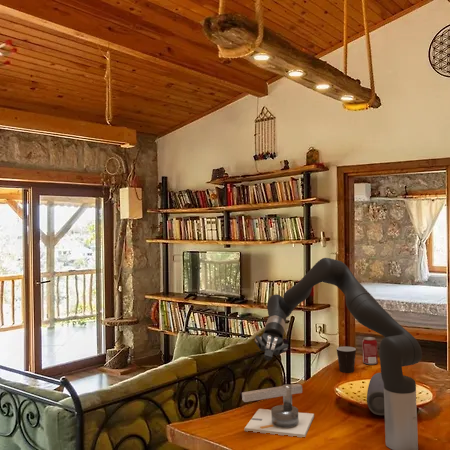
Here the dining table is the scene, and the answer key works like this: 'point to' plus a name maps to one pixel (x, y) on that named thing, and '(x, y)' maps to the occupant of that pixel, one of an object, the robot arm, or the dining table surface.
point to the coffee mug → (346, 359)
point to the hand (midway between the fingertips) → (267, 358)
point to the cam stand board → (264, 425)
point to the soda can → (370, 350)
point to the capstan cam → (281, 413)
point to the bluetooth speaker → (376, 395)
